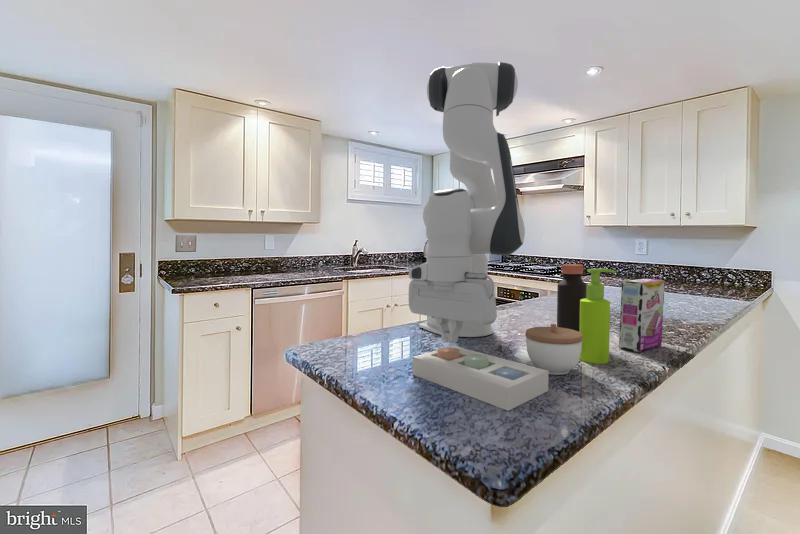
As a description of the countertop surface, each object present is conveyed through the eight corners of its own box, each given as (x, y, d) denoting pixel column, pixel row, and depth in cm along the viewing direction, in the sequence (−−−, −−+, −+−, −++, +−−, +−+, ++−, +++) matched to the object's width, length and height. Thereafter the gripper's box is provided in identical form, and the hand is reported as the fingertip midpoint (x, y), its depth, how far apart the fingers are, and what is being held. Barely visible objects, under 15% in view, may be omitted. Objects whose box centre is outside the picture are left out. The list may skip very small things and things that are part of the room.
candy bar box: (640, 353, 89) (642, 282, 88) (618, 348, 93) (620, 280, 92) (663, 346, 95) (665, 279, 94) (641, 341, 99) (643, 277, 98)
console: (412, 374, 77) (412, 356, 77) (453, 361, 85) (453, 345, 84) (508, 410, 60) (508, 388, 60) (548, 390, 68) (548, 370, 68)
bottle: (587, 342, 100) (588, 264, 98) (584, 348, 94) (585, 265, 92) (558, 338, 103) (559, 263, 102) (554, 345, 97) (555, 265, 96)
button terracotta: (432, 364, 78) (432, 350, 78) (447, 360, 81) (447, 346, 81) (449, 370, 75) (449, 354, 74) (464, 365, 77) (464, 350, 77)
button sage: (459, 373, 73) (459, 357, 72) (474, 368, 75) (474, 353, 75) (478, 379, 69) (478, 363, 69) (493, 374, 72) (493, 358, 72)
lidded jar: (539, 380, 73) (539, 331, 72) (517, 362, 84) (517, 319, 83) (593, 377, 74) (594, 329, 73) (565, 360, 85) (565, 318, 84)
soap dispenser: (618, 364, 81) (620, 269, 80) (582, 363, 83) (584, 269, 81) (609, 356, 87) (611, 267, 86) (576, 355, 89) (577, 267, 87)
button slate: (490, 389, 67) (490, 372, 67) (505, 382, 70) (505, 366, 70) (512, 396, 64) (512, 378, 64) (527, 389, 67) (527, 372, 67)
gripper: (503, 272, 70) (503, 348, 71) (424, 268, 86) (425, 330, 87) (482, 274, 66) (482, 354, 67) (403, 270, 82) (404, 335, 82)
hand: (449, 341), depth 77 cm, fingers closed
